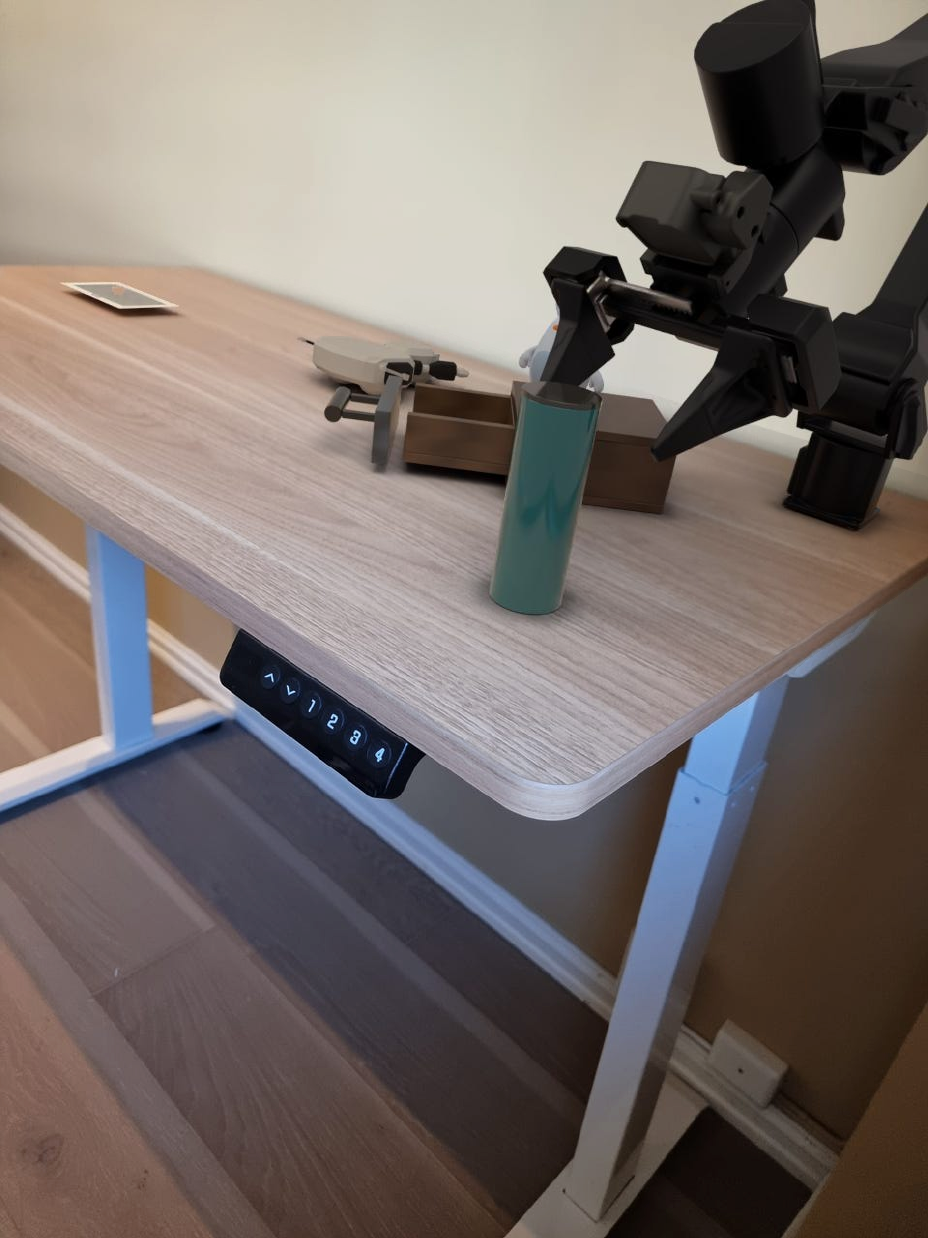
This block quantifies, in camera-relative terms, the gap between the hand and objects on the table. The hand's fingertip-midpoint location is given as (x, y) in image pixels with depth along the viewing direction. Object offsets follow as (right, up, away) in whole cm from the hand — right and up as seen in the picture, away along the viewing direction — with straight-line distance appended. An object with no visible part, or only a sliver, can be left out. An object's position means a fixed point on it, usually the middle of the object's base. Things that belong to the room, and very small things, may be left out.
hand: (592, 430), depth 51 cm
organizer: (+2, +1, +24) cm, 24 cm away
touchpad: (-51, +29, +60) cm, 84 cm away
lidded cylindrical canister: (-4, -9, +3) cm, 11 cm away
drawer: (-11, +4, +23) cm, 26 cm away
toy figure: (+2, +10, +40) cm, 41 cm away
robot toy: (-16, +13, +42) cm, 47 cm away
